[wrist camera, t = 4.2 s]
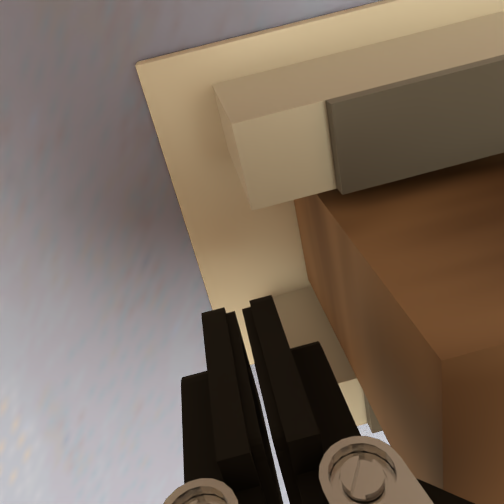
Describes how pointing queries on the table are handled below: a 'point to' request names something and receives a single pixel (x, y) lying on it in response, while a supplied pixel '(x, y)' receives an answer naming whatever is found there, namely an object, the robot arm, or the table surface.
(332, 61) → the chute
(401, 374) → the block
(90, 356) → the table surface
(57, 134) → the table surface
